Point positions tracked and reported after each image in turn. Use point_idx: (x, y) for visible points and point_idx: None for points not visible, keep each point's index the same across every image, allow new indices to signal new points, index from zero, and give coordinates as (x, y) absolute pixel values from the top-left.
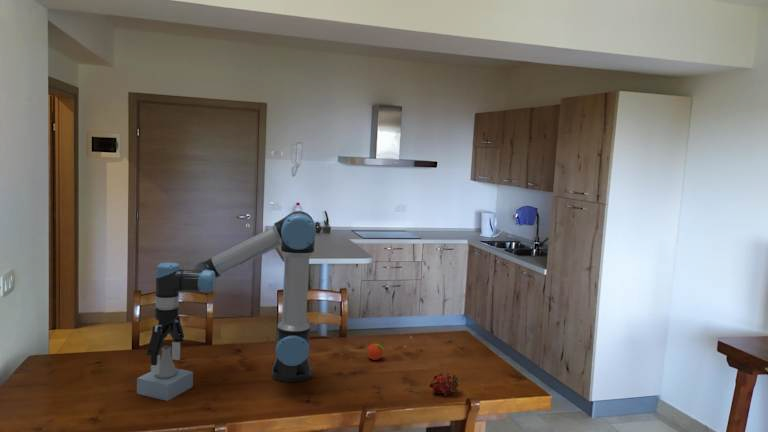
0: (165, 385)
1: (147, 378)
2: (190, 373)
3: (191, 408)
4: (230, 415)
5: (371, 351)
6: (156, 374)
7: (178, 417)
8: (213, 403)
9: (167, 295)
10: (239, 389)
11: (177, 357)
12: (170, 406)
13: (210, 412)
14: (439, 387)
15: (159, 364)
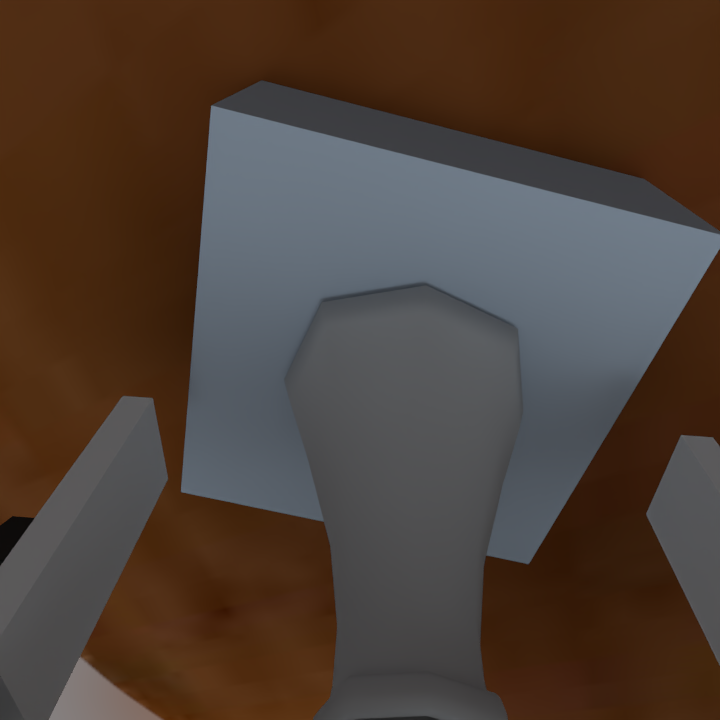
0: (186, 463)
1: (249, 247)
2: (493, 552)
3: (184, 548)
4: (191, 687)
5: None
6: (313, 342)
7: None
8: (285, 614)
9: None
10: (495, 669)
11: (667, 528)
12: None
13: (182, 625)
14: None
15: (110, 579)
